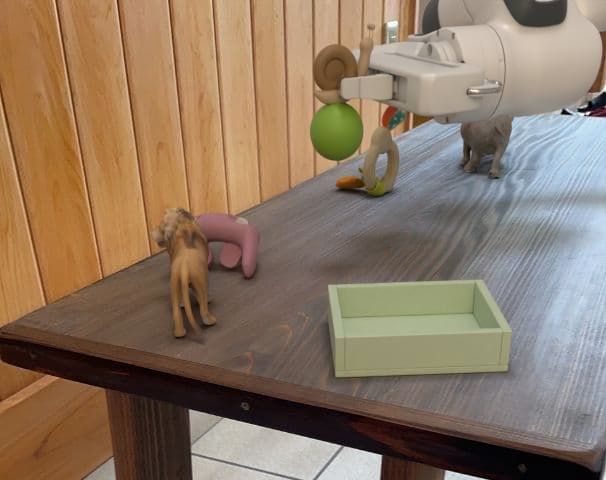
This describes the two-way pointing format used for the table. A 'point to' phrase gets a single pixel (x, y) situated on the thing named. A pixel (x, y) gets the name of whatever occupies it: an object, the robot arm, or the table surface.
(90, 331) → the table surface
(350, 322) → the tray
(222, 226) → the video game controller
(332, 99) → the snail figurine
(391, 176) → the rattle
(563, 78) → the robot arm
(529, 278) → the table surface
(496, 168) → the rhinoceros figurine
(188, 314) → the lion figurine
